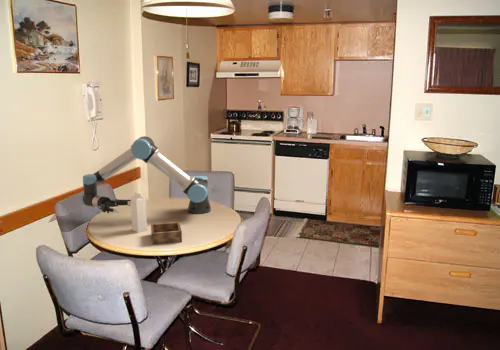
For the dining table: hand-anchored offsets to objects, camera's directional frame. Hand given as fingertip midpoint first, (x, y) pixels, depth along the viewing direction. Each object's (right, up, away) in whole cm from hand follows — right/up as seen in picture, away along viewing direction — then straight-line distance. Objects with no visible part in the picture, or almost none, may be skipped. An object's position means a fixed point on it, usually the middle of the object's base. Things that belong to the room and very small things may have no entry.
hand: (127, 207), depth 242 cm
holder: (+25, -15, -14) cm, 32 cm away
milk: (+8, -13, -2) cm, 15 cm away
